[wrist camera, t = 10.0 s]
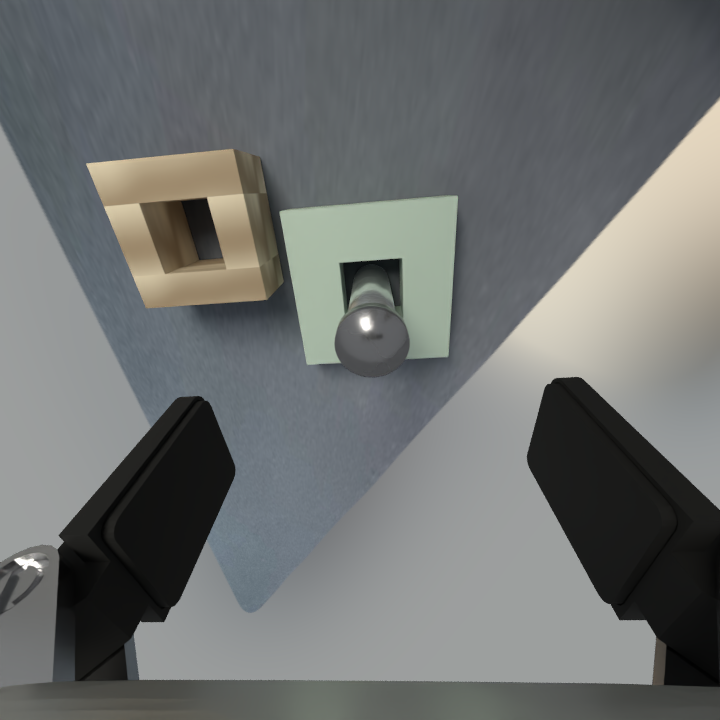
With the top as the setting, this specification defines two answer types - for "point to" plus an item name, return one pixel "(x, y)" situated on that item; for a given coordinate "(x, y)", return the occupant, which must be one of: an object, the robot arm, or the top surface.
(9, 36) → the top surface
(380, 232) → the dock
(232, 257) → the frame
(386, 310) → the pin
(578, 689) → the robot arm
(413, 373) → the top surface
